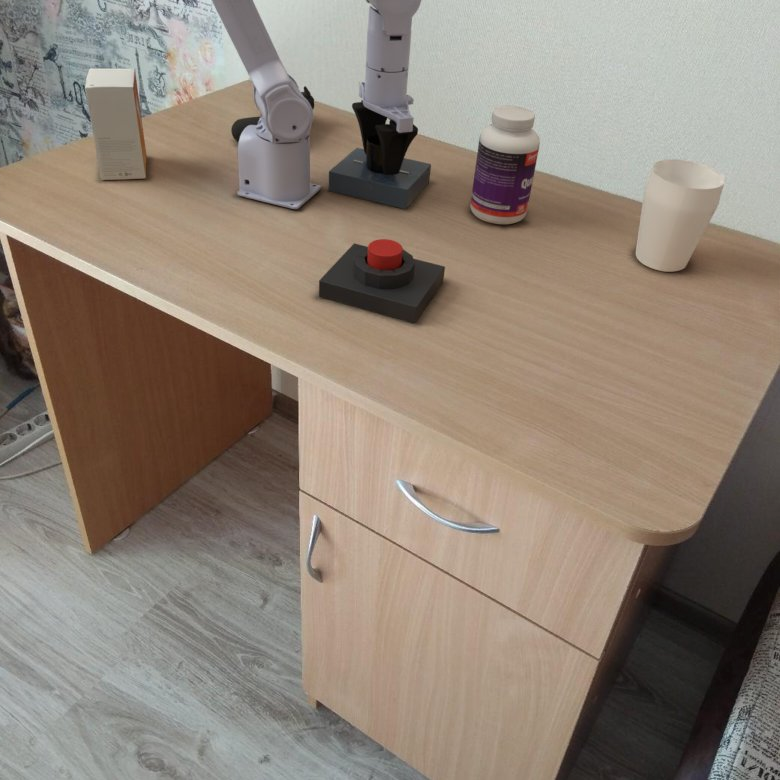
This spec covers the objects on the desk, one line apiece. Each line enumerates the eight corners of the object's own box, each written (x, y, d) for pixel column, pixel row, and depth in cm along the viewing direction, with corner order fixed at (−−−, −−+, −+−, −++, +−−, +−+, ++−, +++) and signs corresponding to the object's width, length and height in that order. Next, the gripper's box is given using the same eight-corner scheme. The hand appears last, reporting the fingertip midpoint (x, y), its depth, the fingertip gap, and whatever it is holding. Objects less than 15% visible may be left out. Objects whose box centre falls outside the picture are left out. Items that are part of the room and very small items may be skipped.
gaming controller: (242, 162, 124) (293, 138, 119) (223, 128, 121) (274, 103, 116) (278, 125, 136) (325, 103, 132) (261, 95, 134) (308, 71, 129)
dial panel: (328, 190, 112) (328, 170, 110) (356, 166, 119) (357, 146, 117) (405, 209, 109) (407, 188, 107) (429, 183, 116) (431, 162, 114)
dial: (361, 169, 111) (362, 140, 109) (372, 158, 114) (374, 130, 112) (389, 176, 110) (391, 146, 107) (400, 164, 113) (402, 136, 111)
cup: (696, 251, 105) (726, 167, 97) (694, 283, 98) (726, 195, 91) (629, 237, 107) (653, 153, 99) (622, 267, 100) (648, 180, 93)
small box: (147, 179, 111) (133, 86, 103) (100, 181, 110) (83, 87, 101) (147, 156, 117) (135, 67, 109) (103, 157, 116) (87, 67, 108)
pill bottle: (523, 231, 106) (543, 127, 97) (465, 222, 107) (480, 119, 98) (527, 206, 112) (546, 106, 103) (472, 198, 113) (486, 98, 104)
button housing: (318, 296, 90) (318, 266, 88) (353, 258, 98) (354, 229, 95) (415, 323, 87) (418, 293, 85) (443, 282, 95) (447, 253, 92)
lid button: (361, 266, 89) (362, 250, 88) (375, 251, 92) (375, 235, 91) (393, 275, 88) (395, 259, 87) (406, 259, 91) (407, 243, 90)
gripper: (437, 81, 100) (427, 181, 108) (393, 48, 110) (387, 141, 118) (387, 85, 97) (381, 186, 106) (346, 50, 107) (343, 146, 116)
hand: (381, 163), depth 112 cm, fingers open, 7 cm apart
